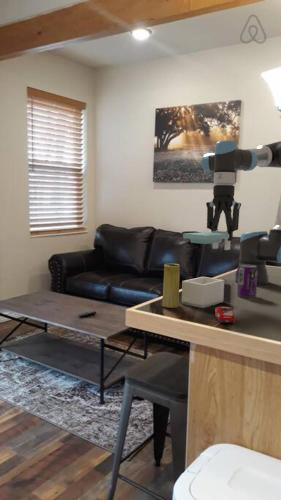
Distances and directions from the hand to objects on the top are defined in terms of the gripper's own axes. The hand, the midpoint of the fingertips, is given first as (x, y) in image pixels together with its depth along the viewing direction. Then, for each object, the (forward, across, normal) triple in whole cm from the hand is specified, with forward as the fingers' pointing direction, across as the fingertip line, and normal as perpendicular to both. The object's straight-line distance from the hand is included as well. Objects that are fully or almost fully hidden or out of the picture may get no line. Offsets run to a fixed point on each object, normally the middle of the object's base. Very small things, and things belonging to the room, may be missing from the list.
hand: (221, 248), depth 150 cm
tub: (+19, 0, -10) cm, 21 cm away
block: (-3, 0, -7) cm, 8 cm away
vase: (+19, -5, -22) cm, 29 cm away
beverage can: (+19, +5, +11) cm, 23 cm away
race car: (+19, +16, -21) cm, 33 cm away
